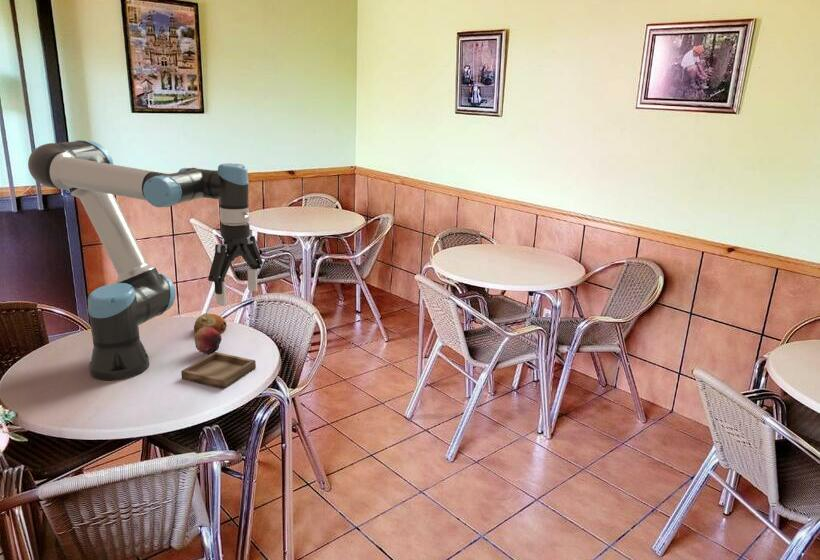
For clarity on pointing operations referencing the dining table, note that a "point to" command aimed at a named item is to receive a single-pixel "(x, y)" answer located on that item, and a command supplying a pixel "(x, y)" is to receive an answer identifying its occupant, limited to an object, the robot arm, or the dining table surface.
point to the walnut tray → (218, 370)
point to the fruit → (207, 340)
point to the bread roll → (210, 322)
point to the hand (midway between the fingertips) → (237, 297)
